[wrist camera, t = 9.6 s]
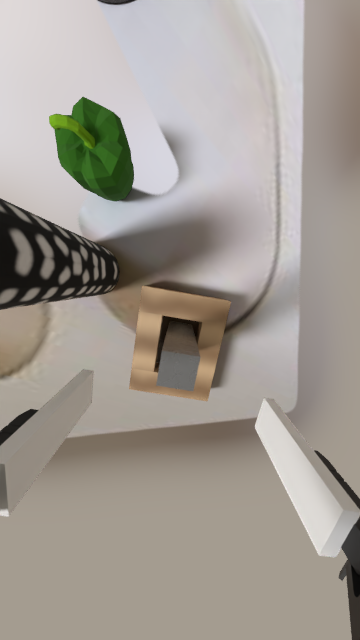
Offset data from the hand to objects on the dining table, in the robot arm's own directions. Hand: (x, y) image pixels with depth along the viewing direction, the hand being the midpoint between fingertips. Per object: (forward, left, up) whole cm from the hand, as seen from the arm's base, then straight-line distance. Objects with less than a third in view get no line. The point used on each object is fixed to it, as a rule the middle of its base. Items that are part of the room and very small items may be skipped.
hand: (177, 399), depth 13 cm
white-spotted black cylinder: (-8, -16, -19) cm, 26 cm away
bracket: (+2, 0, -19) cm, 19 cm away
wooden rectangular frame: (+2, 0, -19) cm, 19 cm away
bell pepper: (-22, -14, -19) cm, 32 cm away
